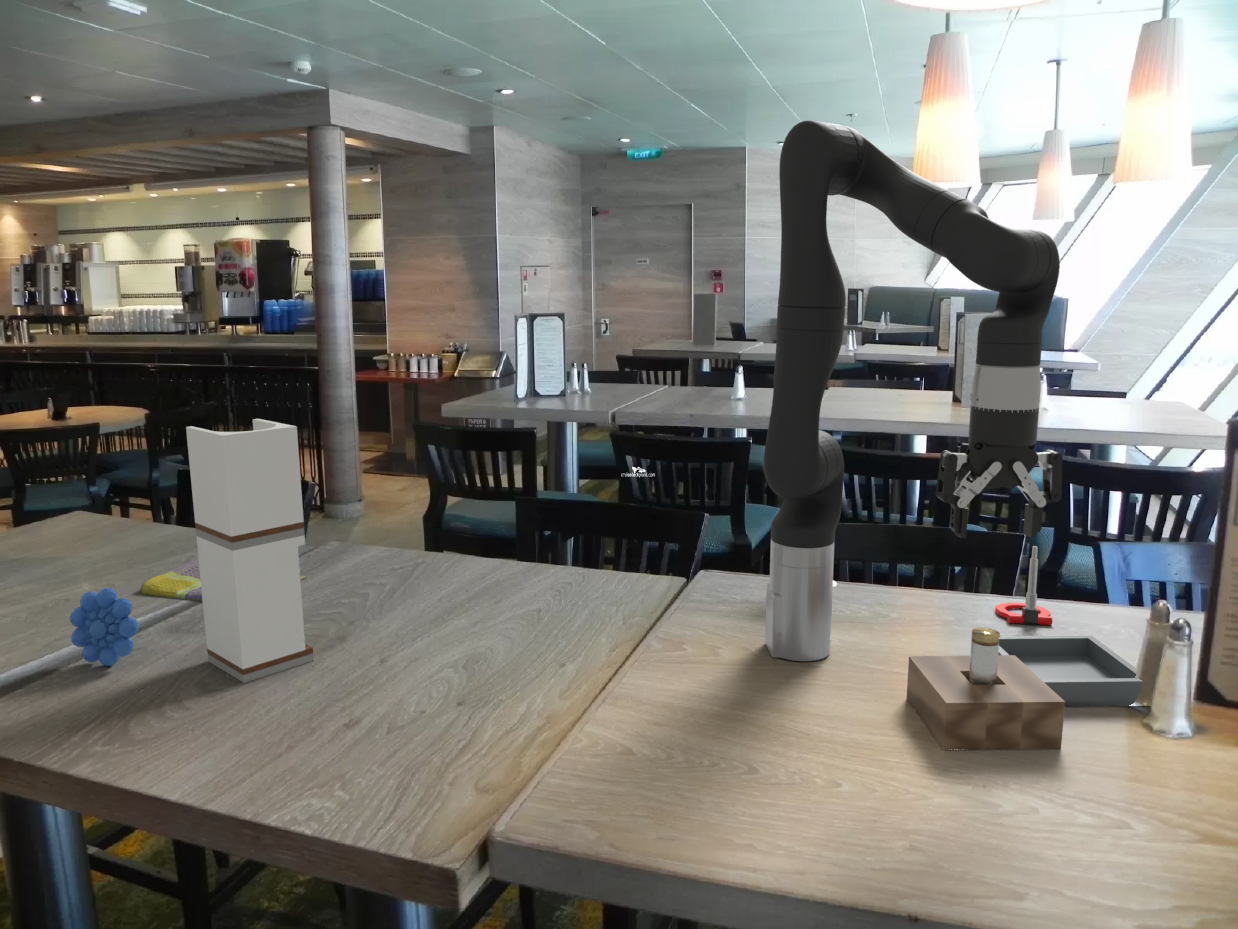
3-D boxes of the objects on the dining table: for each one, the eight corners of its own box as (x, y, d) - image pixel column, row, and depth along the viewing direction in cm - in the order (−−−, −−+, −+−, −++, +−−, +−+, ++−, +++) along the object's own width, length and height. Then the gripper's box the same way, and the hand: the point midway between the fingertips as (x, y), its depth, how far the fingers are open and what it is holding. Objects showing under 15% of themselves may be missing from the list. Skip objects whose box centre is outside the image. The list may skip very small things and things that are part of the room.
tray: (1028, 707, 123) (1030, 682, 122) (981, 659, 138) (982, 636, 138) (1150, 706, 123) (1153, 681, 122) (1089, 658, 139) (1091, 635, 138)
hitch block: (943, 750, 112) (946, 703, 111) (906, 698, 126) (908, 656, 124) (1060, 749, 112) (1065, 701, 111) (1011, 697, 126) (1014, 655, 124)
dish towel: (244, 610, 163) (243, 594, 162) (133, 596, 170) (132, 581, 170) (308, 579, 179) (307, 565, 178) (204, 568, 187) (203, 554, 186)
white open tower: (313, 660, 139) (296, 426, 133) (244, 683, 132) (222, 435, 125) (276, 641, 147) (258, 418, 140) (208, 661, 139) (185, 426, 133)
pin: (971, 728, 117) (977, 637, 115) (961, 717, 120) (968, 627, 118) (997, 728, 117) (1004, 636, 115) (986, 716, 120) (993, 627, 118)
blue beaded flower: (163, 658, 141) (155, 581, 138) (128, 676, 134) (119, 595, 132) (99, 650, 144) (90, 575, 141) (62, 668, 137) (52, 589, 135)
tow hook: (989, 607, 161) (1003, 624, 152) (994, 534, 160) (1008, 546, 150) (1041, 610, 160) (1058, 627, 151) (1047, 536, 158) (1064, 548, 149)
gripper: (956, 407, 108) (947, 545, 111) (1080, 406, 108) (1068, 544, 111) (933, 399, 115) (926, 528, 118) (1049, 398, 115) (1039, 527, 118)
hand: (995, 536), depth 114 cm, fingers open, 8 cm apart
